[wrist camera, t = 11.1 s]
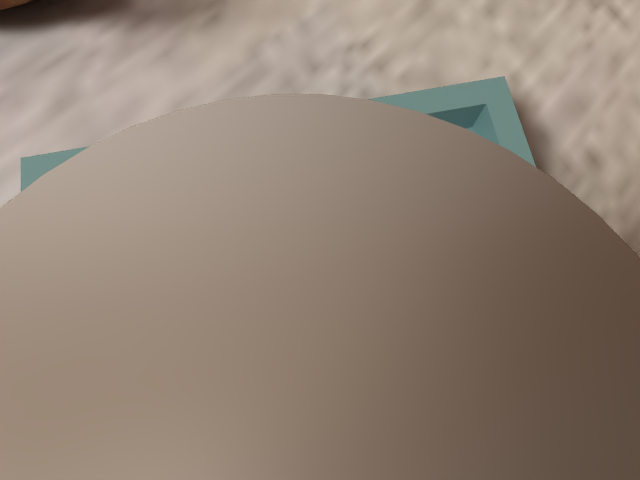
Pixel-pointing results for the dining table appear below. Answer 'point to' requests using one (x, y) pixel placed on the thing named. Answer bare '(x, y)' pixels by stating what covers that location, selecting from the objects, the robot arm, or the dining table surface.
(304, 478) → the shaker
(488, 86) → the tray
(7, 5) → the ceramic jug
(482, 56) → the dining table surface
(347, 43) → the dining table surface
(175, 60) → the dining table surface
